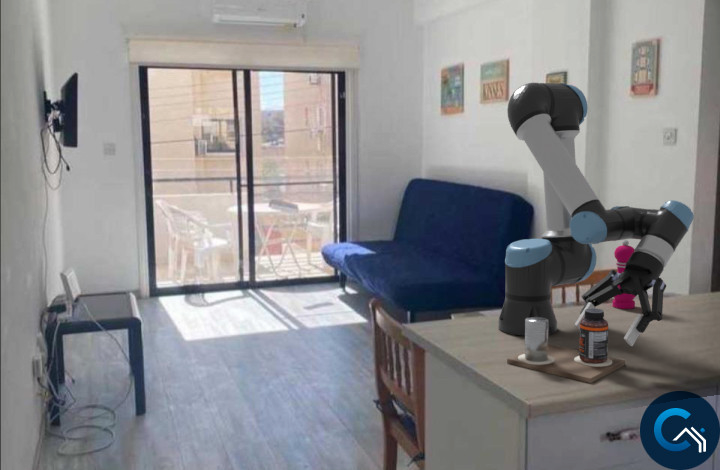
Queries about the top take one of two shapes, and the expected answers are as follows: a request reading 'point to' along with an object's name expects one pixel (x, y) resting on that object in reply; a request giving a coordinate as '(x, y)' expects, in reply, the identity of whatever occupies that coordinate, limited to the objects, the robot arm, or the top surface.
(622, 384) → the top surface
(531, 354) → the pin
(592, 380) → the board
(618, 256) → the pepper mill
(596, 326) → the supplement bottle
